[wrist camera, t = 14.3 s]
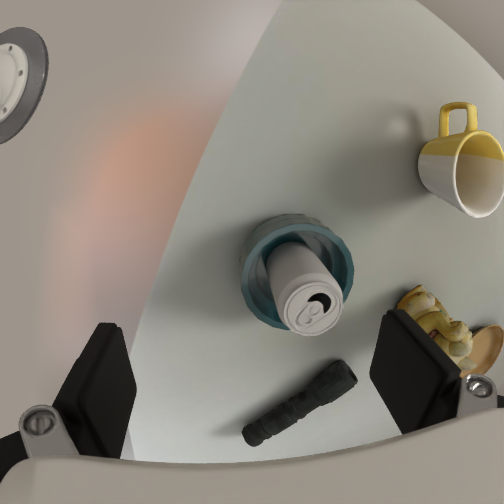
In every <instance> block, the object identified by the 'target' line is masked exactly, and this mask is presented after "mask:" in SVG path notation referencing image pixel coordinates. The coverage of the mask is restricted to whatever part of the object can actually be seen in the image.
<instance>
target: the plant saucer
mask: <svg viewBox="0 0 504 504" xmlns="http://www.w3.org/2000/svg"><path fill="white" fill-rule="evenodd" d="M472 340H473V345H472V351H471V353H470V355H469V356H468V358H469V359H471V360H472V361H474V362H475V363H476V367H475V368H474V369H470V370H462V371H461V374H460V377H461V378H462V379H463V378H464V377H465V376H466V375H468V374H472V373H476V374H482V375H484V374H485V373H486V372H487V371H488V370H489V369H490V368H491V367H492V365H493V364H494V363H495V361H496V359H497V358H498V356H499V354H500V352H501V349H502V347H503V343H504V330H503V328H502V327H501V326H499V325H489V326H486V327H483V328H481V329H479V330H477V331H476V332H474V333H473V334H472Z"/></svg>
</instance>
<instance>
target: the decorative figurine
mask: <svg viewBox="0 0 504 504" xmlns="http://www.w3.org/2000/svg"><path fill="white" fill-rule="evenodd" d="M396 305H397V309H404V310H405V311H406V312H407V313H408V314H409V315H410V316H411V317H412V318H413V319H414V320H415V321H416V322H417V323H418V324H419V325H420V326H421V327H422V328H423V329H424V330H425V332H426V333H427V334H428V335H429V336H430V337H431V338H432V339H433V340H434V341H435V342H436V343H437V344H438V345H439V346H440V347H441V348H442V349H443V351H444V352H445V353H446V354H447V355H448V356H449V357H450V358H451V359H452V360H453V361H454V362H455V364H456V365H457V366H458V367H459V368H460V369H461V370H470V369H474V368H475V367H476V363H475V362H474V361H472V360H471V359H469V358H468V356H469V355H470V353H471V351H472V345H473V340H472V332H471V331H469V329H468V327H467V325H466V324H465V323H464V322H462V321H453V319H452V318H449V315H448V313H447V311H446V310H445V309H444V307H443V306H442V305H441V303H440V302H439V301H438V300H437V299H436V298H435V297H434V296H433V295H432V294H431V293H429V292H427V290H426V289H425V287H423V286H422V285H418V286H417V287H415V288H414V289H412V290H411V291H409V292H408V293H407V294H406V295H405V296H404V297H403V298H402V300H401V301H400V302H398V303H397V304H396Z"/></svg>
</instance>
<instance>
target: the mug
mask: <svg viewBox="0 0 504 504" xmlns="http://www.w3.org/2000/svg"><path fill="white" fill-rule="evenodd" d="M454 109H466V110H467V126H466V129H465V131H464V133H459V134H455V135H450V136H448V117H449V112H450V111H451V110H454ZM418 171H419V176H420V178H421V181H422V183H423V184H424V186H425V187H426V188H427V189H428V190H429V191H430V192H431V193H433V194H435V195H437V196H438V197H440V198H442V199H443V200H445V201H446V202H448V203H450V204H451V205H453V206H454V207H456V208H458V209H459V210H461V211H462V212H464V213H466V214H467V215H469V216H471V217H474V218H483V217H486V216H488V215H489V214H491V213H492V212H493V211H494V210H495V209H496V208H497V207H498V205H499V203H500V202H501V200H502V197H503V195H504V153H503V151H502V149H501V146H500V145H499V143H498V141H497V140H496V139H495V138H494V137H493V136H492V135H491V134H489V133H488V132H485V131H482V130H477V109H476V107H475V106H474V105H472V104H470V103H466V102H453V103H449V104H446V105H444V106H442V107H441V109H440V116H439V136H438V138H436V139H433V140H431V141H429V142H428V143H427V144H426V145H425V146H424V147H423V149H422V151H421V153H420V155H419V160H418Z"/></svg>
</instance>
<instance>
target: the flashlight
mask: <svg viewBox="0 0 504 504" xmlns="http://www.w3.org/2000/svg"><path fill="white" fill-rule="evenodd" d="M357 381H358V380H357V378H356V376H355V374H354V373H353V371H352V370H351V369H350V367H349V366H348V365H347V364H346V363H345V362H344V361H343V360H339V361H338V362H335V363H334V364H333V365H331V366H330V367H329V368H327V369H326V370H325V371H323V372H322V373H321V374H319V375H318V376H317V377H315V378H314V380H313V381H312V382H311V383H310V384H309V385H308V387H307V389H306V390H304V391H303V392H300V393H299V394H298V395H297V396H296V397H294V398H293V397H292V398H290V399H289V400H288V402H287V403H283V404H281V405H280V406H278V407H277V408H275V409H274V410H272V411H271V412H269V413H268V414H266V415H264V416H263V417H262V418H261V419H259V420H257V421H256V423H254V424H249V425H247V426H245V427H244V428H243V430H242V435H243V437H244V439H245V442H246V443H247V444H248V445H250V446H253V447H255V446H258V445H260V444H261V443H263V440H265V439H269V438H270V437H272V435H276V434H278V433H280V432H281V431H283V430H285V429H286V428H288V427H290V426H291V425H293V424H294V423H296V422H297V420H298V419H302V418H304V417H305V416H306V414H308V413H309V412H311V411H312V410H314V409H316V408H317V407H319V406H323V405H325V404H328V403H330V402H331V403H332V402H333V401H335V400H336V399H338V398H339V397H340V396H342V395H343V394H345V393H346V392H347V391H349V390H350V389H351V388H353V387H354V385H355V384H357Z"/></svg>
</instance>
